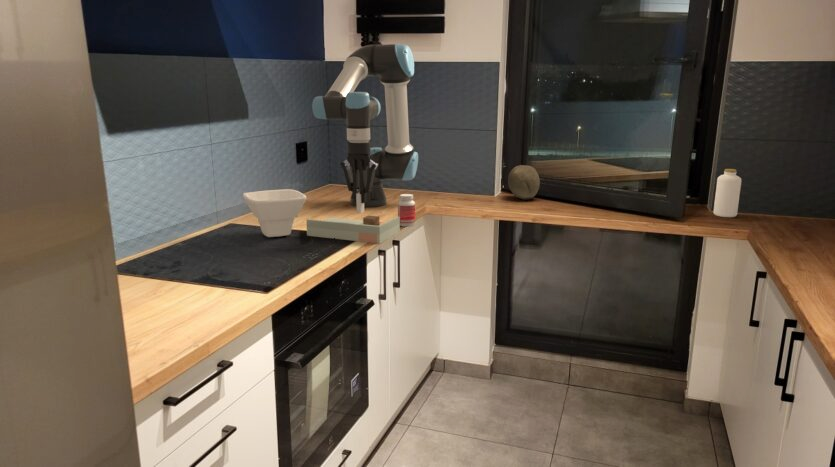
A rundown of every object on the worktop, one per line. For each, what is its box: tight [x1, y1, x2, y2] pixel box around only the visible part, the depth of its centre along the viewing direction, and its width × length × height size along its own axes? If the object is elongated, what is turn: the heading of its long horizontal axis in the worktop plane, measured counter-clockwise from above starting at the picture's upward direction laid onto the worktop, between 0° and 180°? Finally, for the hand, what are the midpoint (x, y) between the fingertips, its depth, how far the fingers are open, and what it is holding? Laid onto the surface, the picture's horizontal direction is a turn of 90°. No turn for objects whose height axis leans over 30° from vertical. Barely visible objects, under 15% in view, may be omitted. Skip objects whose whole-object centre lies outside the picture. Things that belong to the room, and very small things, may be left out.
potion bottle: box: [713, 168, 742, 218], centre depth 241 cm, size 8×8×18 cm
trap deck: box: [306, 216, 401, 244], centre depth 213 cm, size 16×27×6 cm, turn 68°
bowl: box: [242, 188, 307, 238], centre depth 209 cm, size 19×19×14 cm
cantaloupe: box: [507, 164, 541, 201], centre depth 273 cm, size 14×14×15 cm
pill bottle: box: [397, 193, 416, 228], centre depth 225 cm, size 6×6×11 cm
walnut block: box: [362, 215, 381, 226], centre depth 207 cm, size 4×4×4 cm
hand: (360, 212), depth 208 cm, fingers closed
